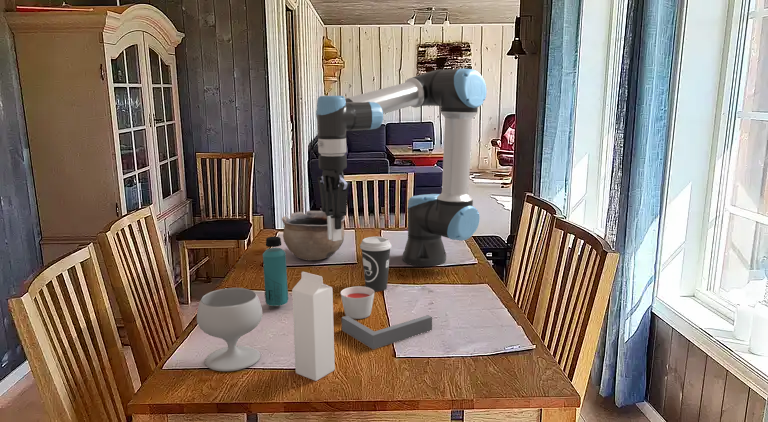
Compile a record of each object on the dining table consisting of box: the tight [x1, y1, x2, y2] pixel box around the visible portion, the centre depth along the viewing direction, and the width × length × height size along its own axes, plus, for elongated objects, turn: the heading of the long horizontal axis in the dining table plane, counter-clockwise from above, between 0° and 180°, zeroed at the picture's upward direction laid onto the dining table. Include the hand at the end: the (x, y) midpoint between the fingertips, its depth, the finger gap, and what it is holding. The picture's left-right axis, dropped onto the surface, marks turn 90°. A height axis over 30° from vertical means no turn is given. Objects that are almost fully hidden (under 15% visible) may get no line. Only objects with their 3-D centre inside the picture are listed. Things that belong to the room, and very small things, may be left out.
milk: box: [291, 271, 336, 382], centre depth 122 cm, size 6×6×22 cm
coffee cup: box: [359, 236, 392, 292], centre depth 174 cm, size 10×10×15 cm
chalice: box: [196, 287, 263, 372], centre depth 128 cm, size 14×14×15 cm
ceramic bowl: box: [281, 210, 346, 261], centre depth 205 cm, size 22×22×15 cm
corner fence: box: [341, 314, 433, 350], centre depth 144 cm, size 18×14×4 cm
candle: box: [340, 285, 376, 320], centre depth 154 cm, size 9×9×6 cm
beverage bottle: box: [262, 236, 289, 307], centre depth 159 cm, size 6×7×20 cm
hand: (334, 239), depth 160 cm, fingers closed
